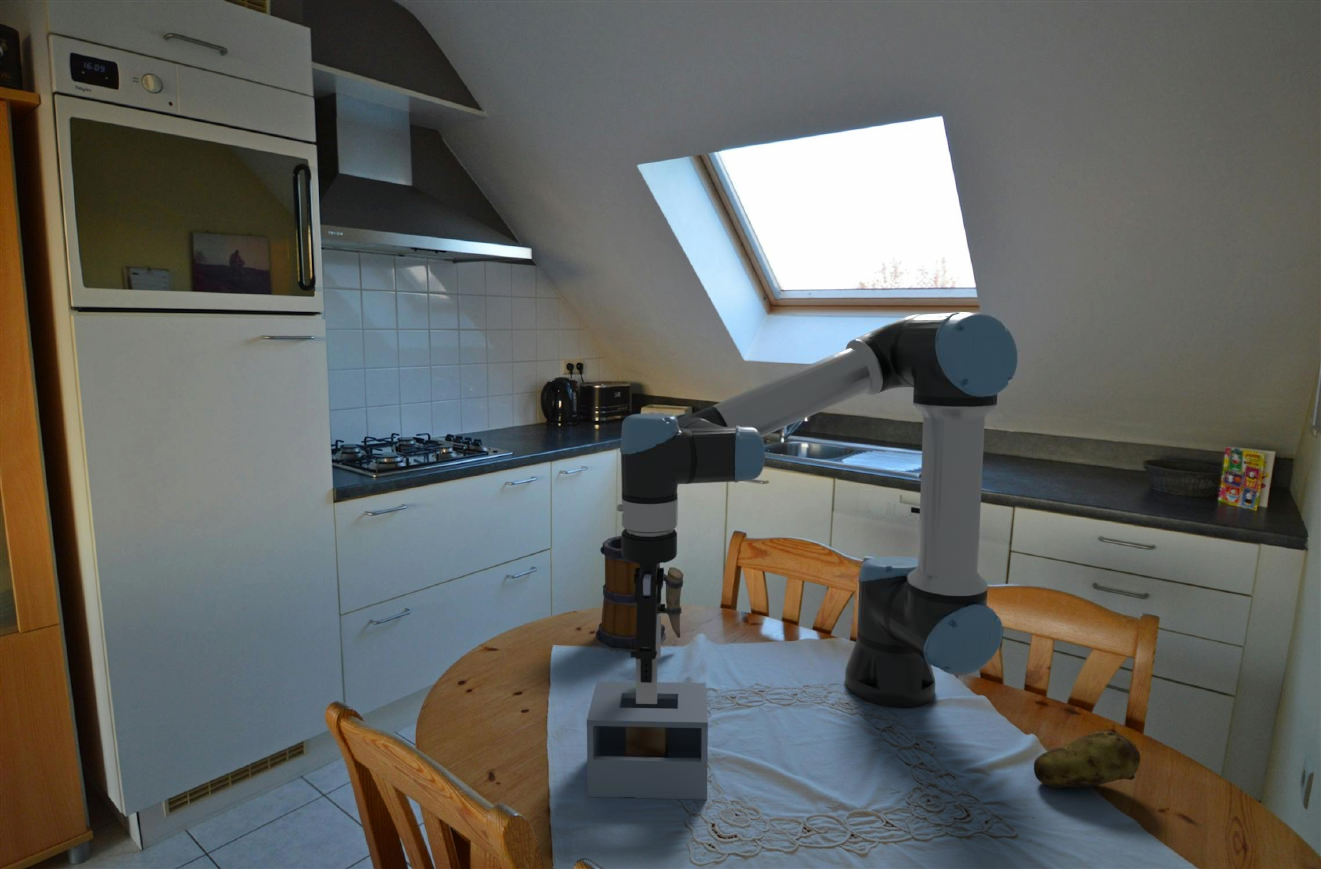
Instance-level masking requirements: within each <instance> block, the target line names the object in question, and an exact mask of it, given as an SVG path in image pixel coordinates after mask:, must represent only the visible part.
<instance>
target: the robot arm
mask: <svg viewBox="0 0 1321 869" xmlns="http://www.w3.org/2000/svg"><path fill="white" fill-rule="evenodd" d="M845 346H846V347H845V349H844V350H841V351H840V352H836V353H835V354H833V355H830V356H828V357H825V358H823V359H821V360H818V361H816V362H813V363H811V364H809V365H806V366H804V367H801V368H799V369H796V370H793V371H791V372H790V373H787V374H785V375H782V376H780V377H778V378H776V379H773V380H770V381H767V382H766V383H763V384H761V385H758V386H757V387H754V388H750V389H749V390H746V391H744V392H742V393H739V394H737V395H735V396H733V397H729V398H728V399H725V400H723V401H721V402H718V403H716V404H713V405H711V406H710V407H707V408H703V409H701V410H699V411H696V412H694V413H681V414H675V415H673V414H667V413H651V412H649V413H648V412H647V413H645V412H644V413H635V414H631V415H629V416H626V417H624V420H623V421H622V425H621V437H620V438H621V441H620V448H619V452H620V462H621V463H620V464H621V465H620V468H621V475H620V476H621V504H620V503H619V504H617V506H616V510H617V511H618V512H622V513H621V526H622V527H623V530H622V531H621V535H620V536H621V550H622V556H623V558H624V559H625V560H627V561H629V562H632V563H633V562H635V563H637V564H639V565H640V567H636V568H635V573H634V586H635V604H636V606H637V623H636V651H631V652H630V658H632V659H633V658H635V682H636V704H657V682H658V659H659V658H662V657H661V656H662V650H661V649H662V648H661V647H662V644H661V624H662V613H657V612H665V607H666V604H665V603H662V589H663V587H664V581H663V579H664V574H665V568H664V567H661V564H662V563H663V564H666V563H669V562H671V561H673V560H674V559H676V557H677V554H678V532H677V531H676V528H677V527H678V522H679V519H678V514H679V510H678V508H679V504H678V503H679V501H678V500H679V498H678V486H679V485H689V484H710V483H713V484H714V483H731V482H733V483H734V484H735V483H738V482H743V481H744V482H745V481H751V480H756V479H757V478H758V477H759V476H760V475H761V474H762V472H763V469H764V467H765V462H766V459H765V458H766V450H765V443H764V439H763V437H766V436H767V435H769V434H772V433H774V432H776V431H779V430H781V429H783V428H786V427H788V426H790V425H793V424H795V423H798V422H799V421H802V420H804V419H806V418H809V417H811V416H813V415H815V414H819V413H820V412H822V411H824V410H828V409H829V408H832V407H834V406H837V405H839V404H841V403H844V402H845V401H848V400H850V399H853V398H856V397H857V396H859V395H862V394H866V395H869V396H875V395H878V394H880V393H883V392H884V391H888V390H891V389H898V388H899V389H900V388H912V389H913V390H912V391H913V392H912V393H913V400H912V404H913V406H914V407H915V408H916V409H917V410H918V411H919V412H920V413H921V414H922V417H923V418H922V438H921V439H922V446H921V465H920V466H921V471H920V473H921V474H920V496H919V498H920V499H919V528H918V548H917V550H918V553H917V555H918V556H917V557H909V556H892V555H891V556H878V557H871V558H869V559H866V560H864V562H863V563H861V565H860V569H859V575H858V579H857V581H858V582H857V583H858V606H857V632H856V634H857V635H856V642H855V643H854V647H853V648H852V652H851V654H850V657H849V658H848V662H847V664H846V667H845V672H844V673H845V674H844V675H845V676H844V678H845V679H844V683H845V685H846V687H847V688H848V690H850V692H852V693H853V694H854V695H856V696H858V697H859V698H861V699H863V700H866V701H869V702H871V703H875V704H878V705H883V706H888V707H896V708H910V707H917V706H922V705H925V704H927V703H929V702H930V701H932V700H933V699H934V697H935V694H936V677H935V673H934V671H933V668H934V667H935V668H938V669H939V670H940V671H942V672H945V673H947V674H949V675H953V676H965V675H970V674H972V673H975V672H977V671H979V670H980V669H981V670H982V669H983V667H985V666H986V665H987V664H988V662H989V661H991V660H992V659H993V658H994V656H995V655H996V654H997V653H998V650H999V648H1000V646H1001V644H1002V640H1003V633H1004V629H1003V623H1002V621H1001V617H999V616H998V614H997V613H996V611H995V610H994V609H993V608H991V607H989V606H988V589H989V587H988V586H989V585H988V582H987V581H986V579H985V578H984V577H983V576H981V574H980V573H979V572H978V568H979V546H980V529H981V528H980V526H981V510H982V509H981V508H982V506H981V503H982V486H983V484H982V482H983V467H984V465H983V463H984V462H983V461H984V446H985V445H984V444H985V424H986V422H985V420H986V419H985V418H986V416H987V415H988V414H990V412H992V411H993V410H994V409H995V408H996V407H997V406H998V395H999V393H1000V392H1002V391H1003V390H1005V389H1006V388H1007V386H1009V381H1010V380H1013V378H1014V376H1015V373H1016V371H1017V368H1018V367H1017V366H1018V349H1017V344H1016V341H1015V339H1014V336H1013V335H1012V333H1011V332H1010V330H1009V329H1008V328H1007V327H1006V326H1005V325H1004V324H1003V322H1002V321H1000V320H999V319H998V318H996V317H994V316H992V315H991V314H990V315H989V314H986V313H981V312H972V311H971V312H970V311H969V312H968V311H958V312H946V313H945V312H941V313H917V314H912V315H908V316H905V317H902V318H900V319H897V320H895V321H892V322H891V323H888V324H886V325H883V326H881V327H879V328H876V329H874V330H873V331H869V332H868V333H865V334H863V335H861V336H858V337H856V338H854V339H852V340H850V341H849V342H848V343H847V344H846V345H845ZM932 667H933V668H932Z"/></svg>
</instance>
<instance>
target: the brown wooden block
mask: <svg viewBox="0 0 1321 869" xmlns="http://www.w3.org/2000/svg"><path fill="white" fill-rule="evenodd" d="M626 757H656V758H668V727H626Z"/></svg>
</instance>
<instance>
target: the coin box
mask: <svg viewBox="0 0 1321 869" xmlns="http://www.w3.org/2000/svg"><path fill="white" fill-rule="evenodd" d="M707 699H708V698H707V683H706V682H678V681H676V682H674V681H673V682H670V681H669V682H667V681H665V682H664V681H657V704H636V681H617V680H615V681H614V680H611V681H610V680H597V681H596V683H595V687H594V690H593V694H592V699H591V702H590V706H589V710H588V714H587V717H586V756H587V757H586V762H587V765H586V766H587V769H586V770H587V771H586V773H587V777H586V778H587V780H586V781H587V797H588V798H618V797H635V798H634V799H661V800H663V799H665V800H708V753H709V752H708V751H709V750H708V748H709V747H708V744H709V742H708V739H709V719H708V717H709V716H708V702H707V701H708V700H707ZM626 727H668V758H656V757H626Z"/></svg>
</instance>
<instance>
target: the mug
mask: <svg viewBox="0 0 1321 869" xmlns="http://www.w3.org/2000/svg"><path fill="white" fill-rule="evenodd" d="M599 550H600V553H601V554H602V555H604V584H603V585H602V596H603V602H602V612H601V622H600V623H599V624H598V630H596V632H595V639H596V642H597V645H599V646H600V647H602V648H605V649H607V650H609V651H614V652H619V651H621V652H620V653H627V654H628V653H629V654H631V651H636V623H637V606H636V604H635V586H634V573H635V568H636V567H640V565H639V564H637V563H635V562H633V563H632V562H629V561H627V560H625V559H624V558H623V556H622V550H621V535H618V536H613V537H612V536H611V537H608V538H607V539H606V540H603V542H602V546H601V547H600V549H599ZM663 582H664V583H665V603H666V604H665V605H666V606H665V612H657V613H659V614H667V615H668V618H669V622H670V625H671V627H672V631H673V632H674V634H675V636H676V638H678V639H680V638H681V614H682V613H683V611H682V606H681V593H682V587H683V586H684V573H683V572H682V571H681V570H680V569H678V568H677V567H674V566H673V567H671V566H670V567H668V570H667V574H666V573H664V579H663ZM665 631H666V626H665V625H664V624H662V623H661V645H662V644H663V643H664V642H665V640H666V639H667V634H666V633H665Z"/></svg>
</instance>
